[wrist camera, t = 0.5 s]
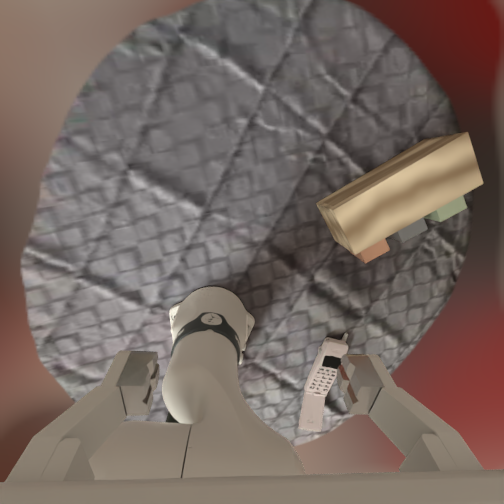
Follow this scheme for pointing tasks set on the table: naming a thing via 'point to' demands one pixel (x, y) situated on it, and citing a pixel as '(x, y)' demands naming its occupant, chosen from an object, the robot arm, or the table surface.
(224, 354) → the robot arm
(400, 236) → the slate key
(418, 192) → the key console
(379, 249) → the terracotta key
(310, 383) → the mobile phone
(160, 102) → the table surface
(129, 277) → the table surface
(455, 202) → the sage key
